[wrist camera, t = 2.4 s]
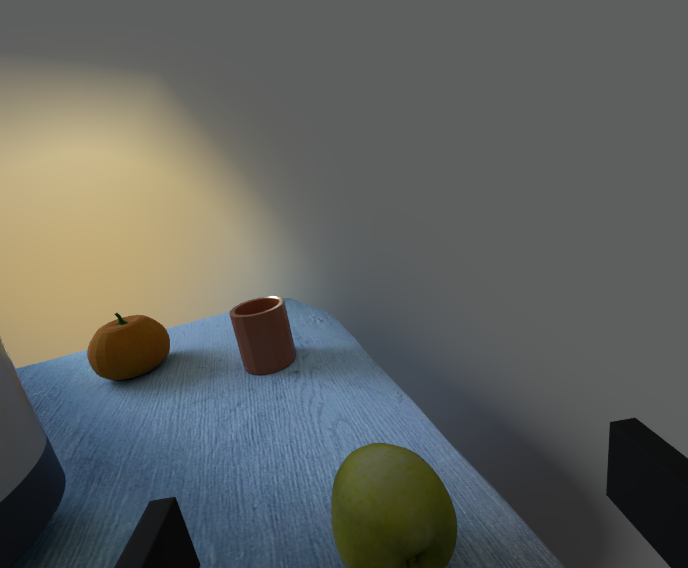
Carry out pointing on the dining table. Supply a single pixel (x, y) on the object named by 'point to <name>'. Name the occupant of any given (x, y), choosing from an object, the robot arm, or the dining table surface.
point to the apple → (391, 511)
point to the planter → (23, 468)
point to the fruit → (128, 347)
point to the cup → (263, 335)
